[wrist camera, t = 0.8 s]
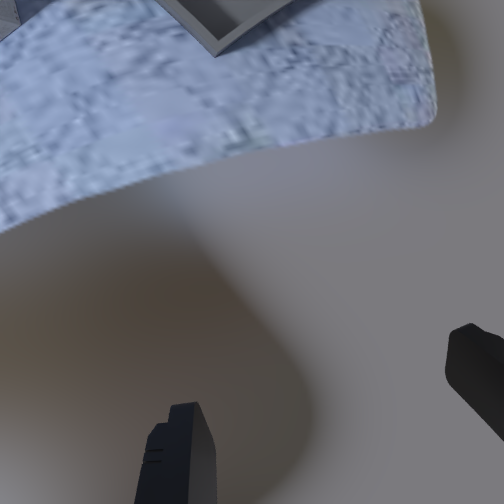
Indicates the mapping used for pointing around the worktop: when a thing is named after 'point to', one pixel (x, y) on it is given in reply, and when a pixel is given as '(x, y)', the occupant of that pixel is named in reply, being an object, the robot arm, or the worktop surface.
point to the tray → (221, 19)
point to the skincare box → (8, 17)
